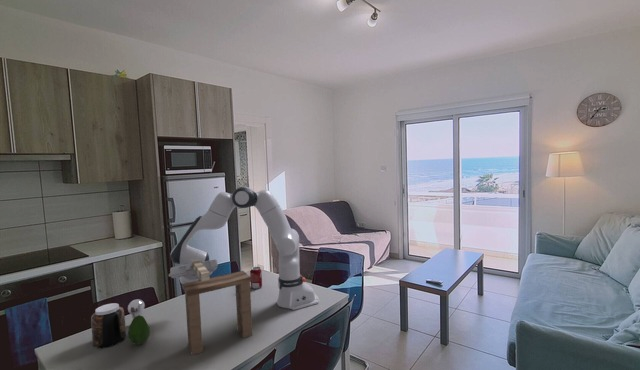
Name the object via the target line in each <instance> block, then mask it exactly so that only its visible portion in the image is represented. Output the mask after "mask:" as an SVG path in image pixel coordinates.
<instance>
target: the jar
mask: <svg viewBox="0 0 640 370" xmlns="http://www.w3.org/2000/svg"><path fill="white" fill-rule="evenodd" d="M94 311H95V312H94V313H93V314H92V315H91V317H90V323H91V325H90V327H91V337H92V346H93V348H95V349H106V348H111V347H114V346H115V345H118V344H119V343H122V342H123V341H124V340H125V339H126V338H127V332H126V329H127V328H126V318H125V317H126V315H125V310H124V307H121V306H120V304H119V303H115V302H114V303H112V302H111V303H107V304H103V305H101V306H99V307H97V308H95V310H94Z"/></svg>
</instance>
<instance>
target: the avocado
mask: <svg viewBox="0 0 640 370" xmlns="http://www.w3.org/2000/svg"><path fill="white" fill-rule="evenodd" d="M150 332H151V331H150V326H149V324H148V322H147V320H146V318H145V317H144V316H141V315H138V316H136V317H135V318H134V319H133V318H132V320H131V322H130V324H129V328H128V332H127V338H128V340H129V342H130V343H132V344H134V345H142V344H144V343H146V341H147V340H148V339H149V335H150Z"/></svg>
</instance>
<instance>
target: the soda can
mask: <svg viewBox="0 0 640 370" xmlns="http://www.w3.org/2000/svg"><path fill="white" fill-rule="evenodd" d="M262 274H263V273H262V269H261V267H260V266H253V267H251V268H250V273H249V276H250V277H251V282H250V289H252V290H258V289H260V288H262V287H263V277H262Z"/></svg>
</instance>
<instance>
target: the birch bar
mask: <svg viewBox="0 0 640 370" xmlns="http://www.w3.org/2000/svg"><path fill="white" fill-rule="evenodd" d="M192 263H193V269H194V271H195V272H196V274H197V275H198V276H199V278H200V279H199V280H201V281H206V280H210V278H211V277H210V276H211V275H210V273H209V271H208V270H207V269H206V268H205V266H204V265H203V264H202V263H201V262H200V260H193V261H192Z"/></svg>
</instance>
